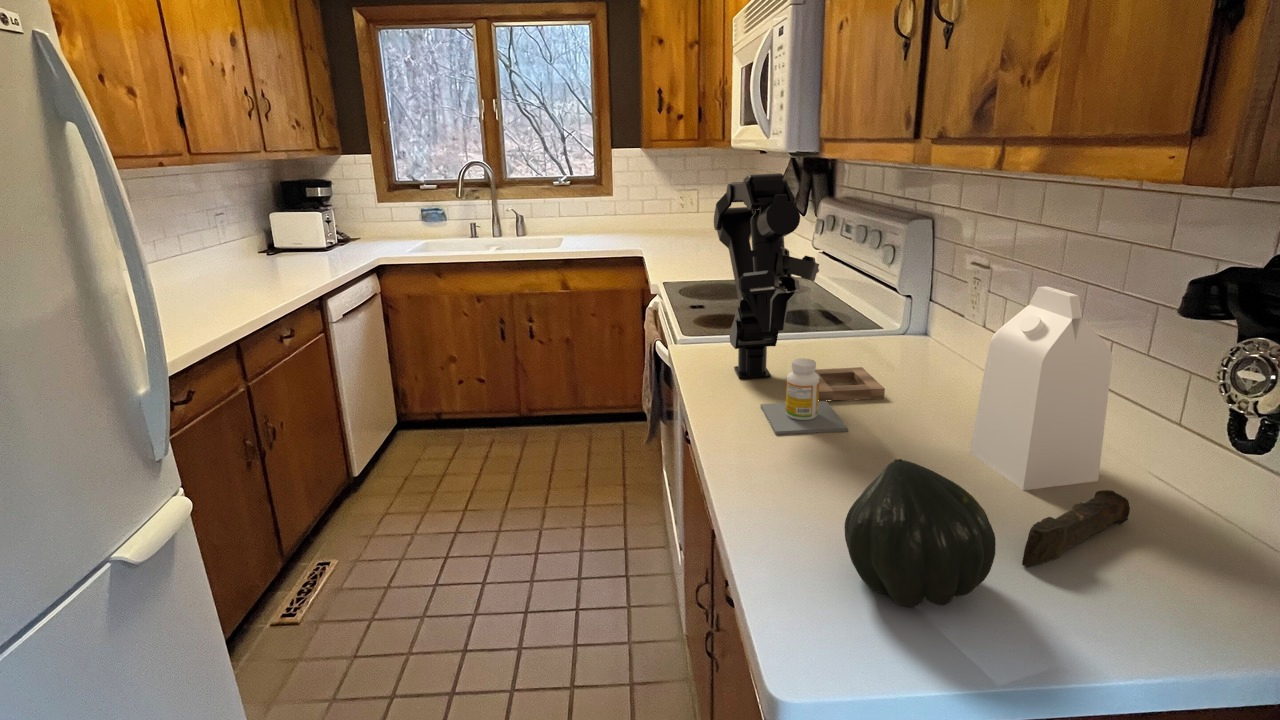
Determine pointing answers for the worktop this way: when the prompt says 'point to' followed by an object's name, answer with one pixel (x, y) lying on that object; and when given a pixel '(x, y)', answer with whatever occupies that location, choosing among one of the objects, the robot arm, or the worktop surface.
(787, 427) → the slate mat
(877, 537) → the squash
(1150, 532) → the worktop surface
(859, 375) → the hole board
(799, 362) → the supplement bottle
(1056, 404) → the milk
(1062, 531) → the hand tool
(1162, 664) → the worktop surface
